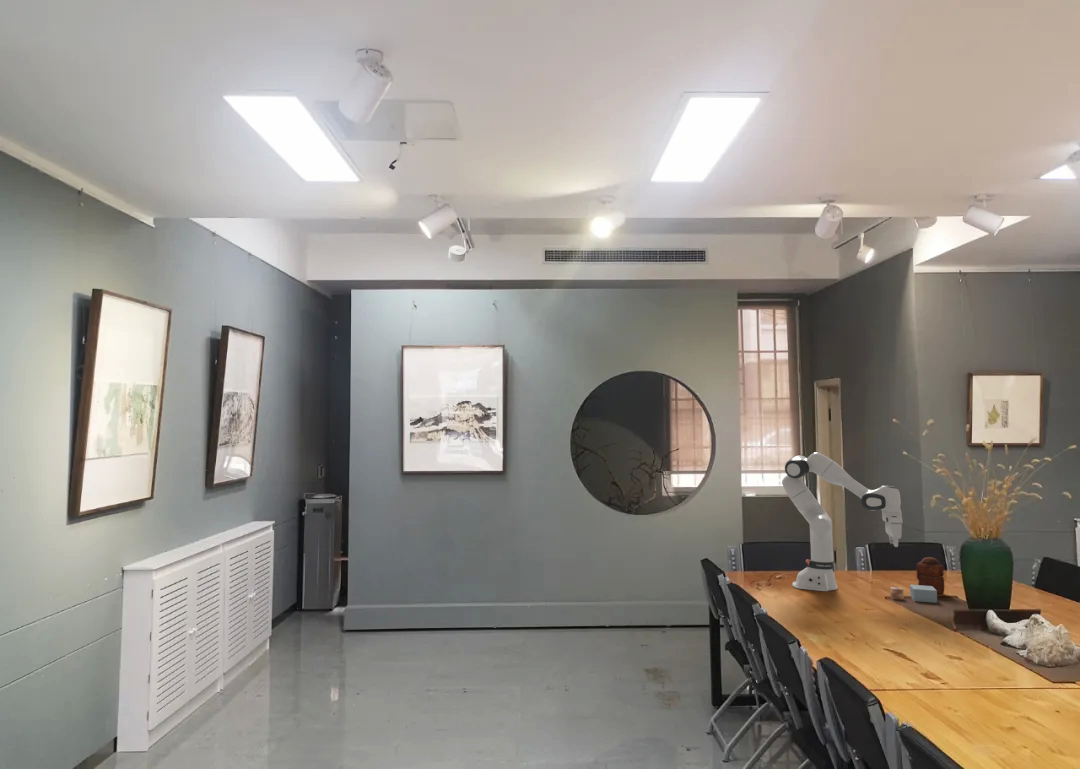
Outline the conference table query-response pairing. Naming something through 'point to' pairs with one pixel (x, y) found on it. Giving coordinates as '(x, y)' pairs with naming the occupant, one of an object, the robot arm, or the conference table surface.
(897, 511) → the robot arm
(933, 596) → the slate base block
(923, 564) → the wooden figurine
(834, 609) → the conference table surface
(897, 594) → the terracotta cube
